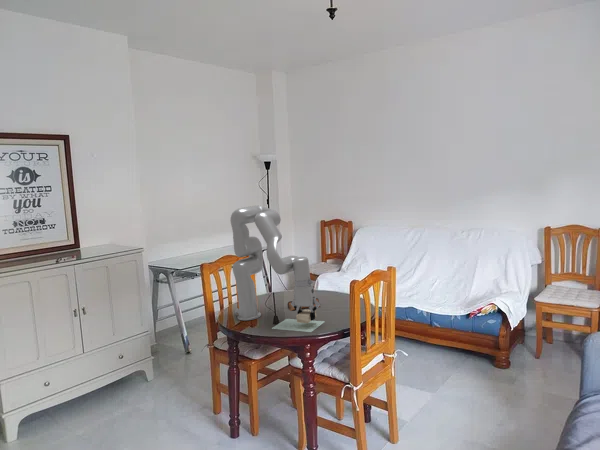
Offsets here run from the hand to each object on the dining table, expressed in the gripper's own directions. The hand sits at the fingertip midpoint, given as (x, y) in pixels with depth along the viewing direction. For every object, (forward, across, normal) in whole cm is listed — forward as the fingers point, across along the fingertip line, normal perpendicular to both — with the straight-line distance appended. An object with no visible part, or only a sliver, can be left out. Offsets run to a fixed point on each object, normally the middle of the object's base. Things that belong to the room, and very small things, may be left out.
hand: (306, 318), depth 222 cm
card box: (0, 0, 0) cm, 0 cm away
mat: (+4, +5, 0) cm, 6 cm away
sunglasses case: (+4, +17, -28) cm, 33 cm away
